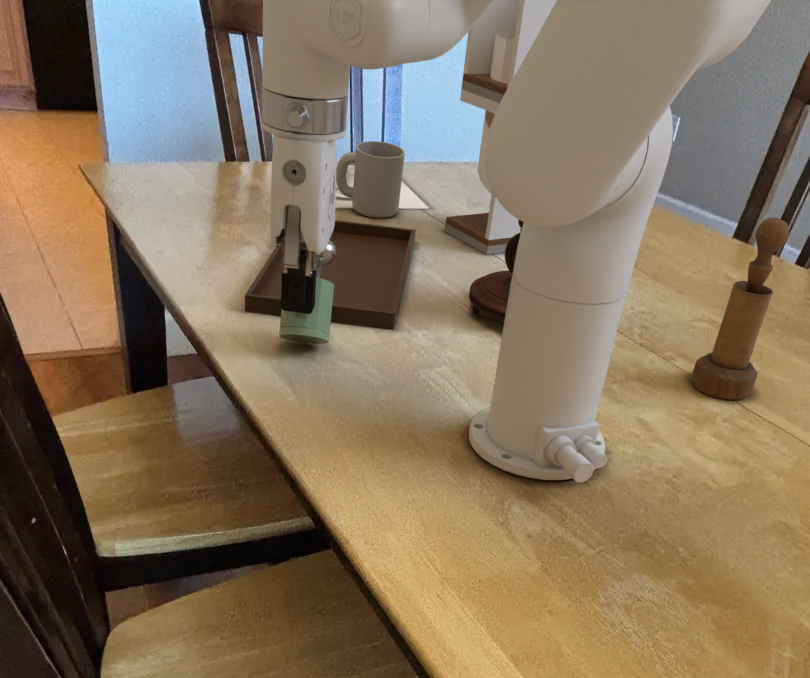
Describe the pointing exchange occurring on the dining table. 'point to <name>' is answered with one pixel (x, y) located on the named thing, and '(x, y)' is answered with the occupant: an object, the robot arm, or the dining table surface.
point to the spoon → (325, 258)
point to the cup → (373, 178)
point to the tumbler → (310, 318)
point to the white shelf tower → (495, 102)
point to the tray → (350, 275)
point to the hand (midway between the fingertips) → (297, 308)
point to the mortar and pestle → (741, 323)
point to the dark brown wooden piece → (495, 285)
